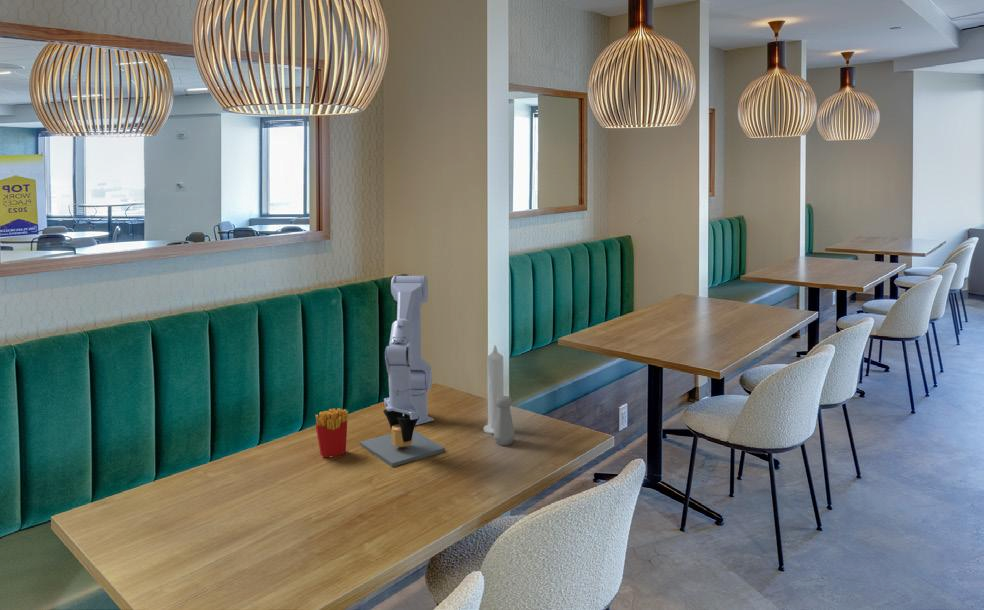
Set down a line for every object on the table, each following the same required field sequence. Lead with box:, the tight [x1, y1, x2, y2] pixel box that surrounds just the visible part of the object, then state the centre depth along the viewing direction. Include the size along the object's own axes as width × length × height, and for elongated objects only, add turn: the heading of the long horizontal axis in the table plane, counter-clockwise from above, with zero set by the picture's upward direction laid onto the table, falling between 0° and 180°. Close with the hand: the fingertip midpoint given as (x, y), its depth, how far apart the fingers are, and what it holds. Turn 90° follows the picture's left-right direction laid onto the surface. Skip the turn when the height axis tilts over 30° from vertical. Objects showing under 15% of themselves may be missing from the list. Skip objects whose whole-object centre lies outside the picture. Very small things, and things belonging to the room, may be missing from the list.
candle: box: [483, 344, 505, 435], centre depth 210 cm, size 7×7×25 cm
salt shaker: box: [493, 395, 516, 446], centre depth 201 cm, size 6×6×13 cm
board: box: [358, 430, 446, 468], centre depth 200 cm, size 18×16×1 cm
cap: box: [390, 424, 413, 447], centre depth 197 cm, size 5×5×4 cm
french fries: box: [314, 407, 349, 458], centre depth 195 cm, size 8×4×12 cm, turn 118°
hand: (401, 437), depth 197 cm, fingers closed on cap, 5 cm apart
